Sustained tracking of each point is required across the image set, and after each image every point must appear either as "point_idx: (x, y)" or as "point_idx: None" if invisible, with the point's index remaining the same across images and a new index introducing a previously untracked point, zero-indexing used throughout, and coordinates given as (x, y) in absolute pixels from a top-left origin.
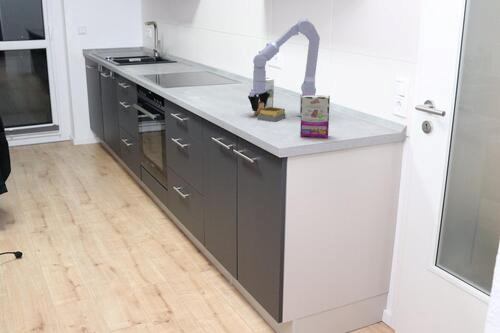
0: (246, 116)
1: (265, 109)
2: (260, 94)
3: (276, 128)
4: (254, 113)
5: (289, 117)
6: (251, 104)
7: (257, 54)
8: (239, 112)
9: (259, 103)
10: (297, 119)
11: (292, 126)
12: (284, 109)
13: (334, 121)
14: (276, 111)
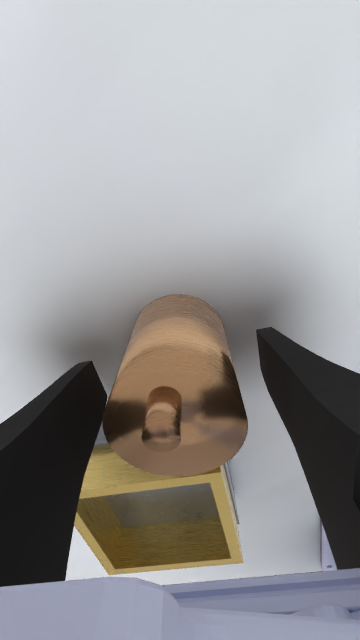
0: (42, 304)
1: (129, 485)
2: (349, 479)
3: None
4: (134, 327)
5: (262, 498)
6: (26, 412)
7: None
8: (103, 78)
9: (130, 462)
10: (245, 537)
11: (106, 576)
12: (237, 557)
13: None
14: (120, 570)
